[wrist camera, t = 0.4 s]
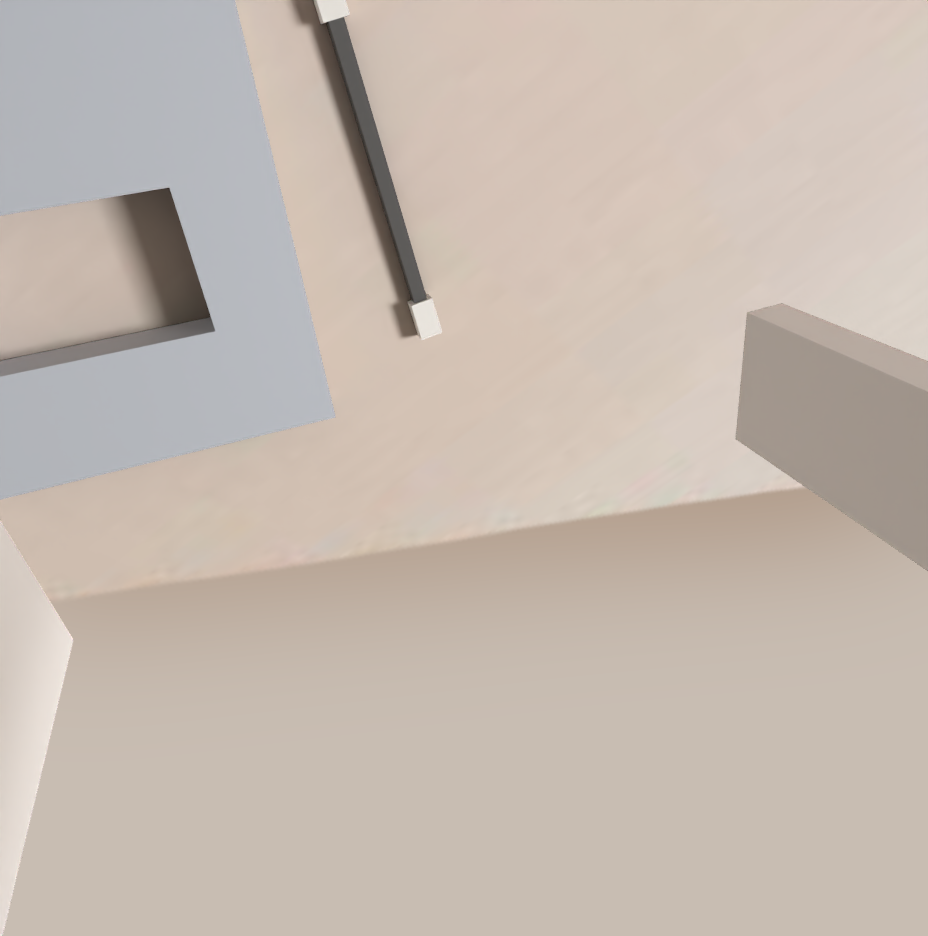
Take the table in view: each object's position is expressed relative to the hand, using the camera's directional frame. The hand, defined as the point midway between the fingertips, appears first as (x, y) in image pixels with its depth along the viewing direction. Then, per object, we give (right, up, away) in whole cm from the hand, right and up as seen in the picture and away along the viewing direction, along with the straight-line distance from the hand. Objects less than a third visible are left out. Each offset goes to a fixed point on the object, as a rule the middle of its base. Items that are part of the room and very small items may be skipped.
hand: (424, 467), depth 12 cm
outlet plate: (-16, +10, +19) cm, 27 cm away
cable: (-3, +14, +22) cm, 26 cm away
